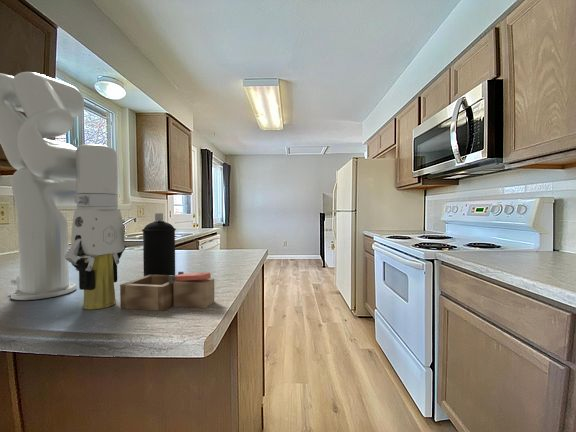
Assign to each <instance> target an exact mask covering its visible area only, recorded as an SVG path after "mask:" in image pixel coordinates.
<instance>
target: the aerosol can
mask: <svg viewBox="0 0 576 432" xmlns="http://www.w3.org/2000/svg"><path fill="white" fill-rule="evenodd" d="M141 231H142V244H143V245H142V246H143V249H142V250H143V253H142V254H143V259H142V260H143V277H144V276H147V275H150V274H151V275H176V228H175V227H174V226H173V225H172V224H171V223H168V222H167V221H164V213H161V212H160V213H157V212H156V213H154V221H153V222H150V223H148V224H146V225H145V226H144V228H142V229H141Z"/></svg>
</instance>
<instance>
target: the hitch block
mask: <svg viewBox="0 0 576 432" xmlns="http://www.w3.org/2000/svg"><path fill="white" fill-rule="evenodd" d="M178 274H185V273H184V271H178V272H177V274H175V275H151V274H150V275H147V276H144V275H143V276H141V277H139V278H136V279H132V280H129V281H128V282H125V283H122V284H119V291H120V293H119V295H120V297H119V299H120V300H119V301H120V303H119V305H120V307H119V308H120V309H128V310H144V311H146V310H147V311H159V312H160V311H161V312H163V311H166V310H167V309H169V308H171V307H172V306H173V307H175V308H176V307H178V308H193V309H194V308H196V309H206V308H208V307H210V306H211V305H212V304H214V303H215V278H209V279H205V280H185V281H175V280H174V276H176V275H178Z"/></svg>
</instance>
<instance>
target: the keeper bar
mask: <svg viewBox="0 0 576 432" xmlns="http://www.w3.org/2000/svg"><path fill="white" fill-rule="evenodd" d="M175 275H176V276H174V280H175V281H185V280H205V279H209V278H211V277H212V276H211V272H210V271H209V272H206V271H205V272H194V273H193V272H190V273H189V272H188V273H184V274H178V273H177V274H175Z"/></svg>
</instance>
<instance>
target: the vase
mask: <svg viewBox="0 0 576 432" xmlns="http://www.w3.org/2000/svg"><path fill="white" fill-rule="evenodd" d="M85 255H86V254H85ZM85 263H87V259H85ZM92 270H94V271H95V289H93V290H83V304H82V308H83V309H84V310H88V311H89V310H91V311H93V310H101V309H102V310H103V309H105V308H109V307H112V306H114V305H115V304H116V303H117V300H116V289H115V282H114V270H113V254H107V255H104V256H98V257H95V259H94V263H93V267H92Z"/></svg>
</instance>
